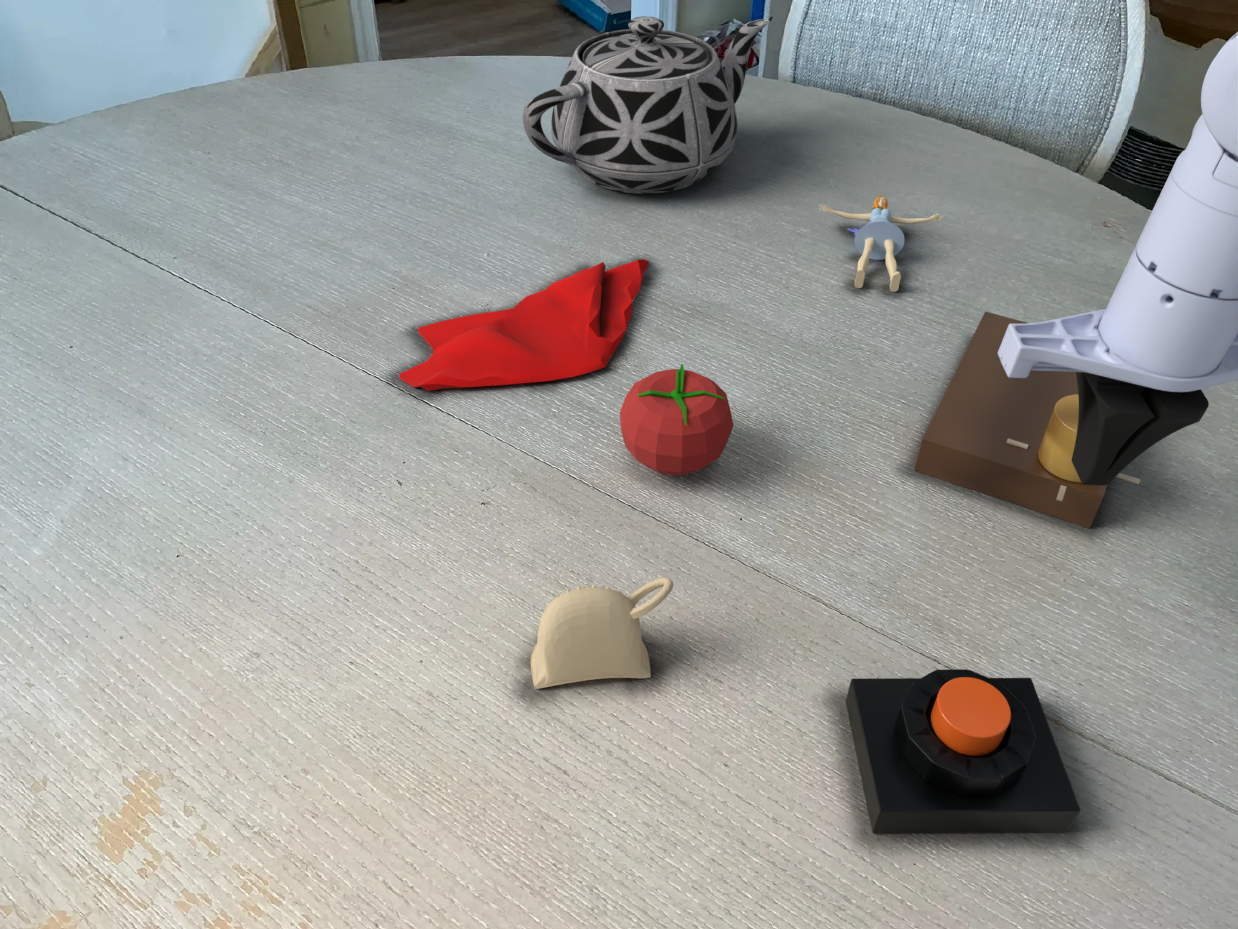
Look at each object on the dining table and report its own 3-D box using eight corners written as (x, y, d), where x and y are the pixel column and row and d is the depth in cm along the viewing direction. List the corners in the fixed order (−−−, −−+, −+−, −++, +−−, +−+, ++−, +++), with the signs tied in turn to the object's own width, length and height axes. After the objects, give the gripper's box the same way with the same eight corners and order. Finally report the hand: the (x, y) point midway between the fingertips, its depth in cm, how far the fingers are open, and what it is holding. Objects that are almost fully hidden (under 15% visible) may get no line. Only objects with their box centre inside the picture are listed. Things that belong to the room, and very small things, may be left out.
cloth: (446, 434, 75) (442, 410, 73) (370, 343, 83) (366, 320, 82) (723, 323, 85) (725, 300, 84) (632, 253, 94) (632, 231, 92)
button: (991, 696, 53) (999, 676, 52) (1011, 756, 51) (1020, 737, 50) (923, 696, 53) (930, 676, 52) (939, 756, 51) (947, 737, 49)
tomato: (734, 429, 75) (743, 345, 70) (724, 502, 69) (733, 415, 64) (628, 417, 76) (629, 333, 71) (609, 488, 70) (609, 402, 65)
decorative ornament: (529, 633, 61) (524, 574, 57) (667, 623, 61) (670, 564, 58) (531, 689, 58) (526, 630, 54) (676, 678, 58) (680, 619, 55)
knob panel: (1154, 391, 79) (1169, 358, 77) (1113, 555, 66) (1130, 521, 64) (976, 341, 84) (985, 309, 81) (906, 485, 71) (915, 451, 68)
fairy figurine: (815, 251, 87) (822, 174, 95) (808, 295, 91) (815, 217, 99) (952, 264, 86) (947, 185, 94) (939, 308, 89) (936, 228, 97)
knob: (1035, 435, 70) (1053, 385, 67) (1102, 445, 69) (1124, 395, 66) (1039, 477, 67) (1058, 427, 64) (1109, 488, 66) (1132, 438, 63)
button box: (1020, 700, 57) (1040, 657, 55) (1068, 833, 51) (1093, 791, 49) (845, 701, 57) (856, 658, 55) (872, 834, 51) (886, 793, 49)
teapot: (817, 157, 109) (838, 12, 99) (586, 244, 95) (582, 85, 85) (701, 100, 120) (710, -36, 110) (480, 170, 106) (466, 22, 96)
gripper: (1309, 224, 50) (1186, 428, 59) (1020, 212, 49) (943, 419, 59) (1387, 309, 45) (1240, 516, 54) (1067, 297, 44) (974, 508, 54)
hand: (1088, 472), depth 56 cm, fingers closed
